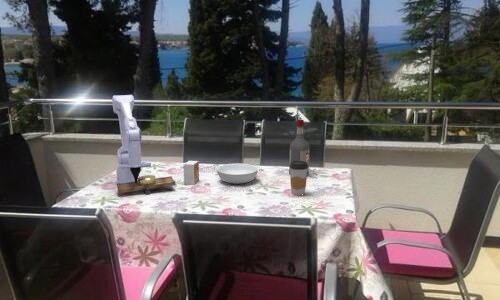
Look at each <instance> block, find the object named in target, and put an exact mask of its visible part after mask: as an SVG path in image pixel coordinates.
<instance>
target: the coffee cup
mask: <svg viewBox="0 0 500 300" xmlns="http://www.w3.org/2000/svg"><path fill="white" fill-rule="evenodd" d="M307 168H308V165H307V162H305V161H292V162H291V164H290V174H289V177H290V192H291V195H292V194H294V195H293V196H295V195H302V194H304V195H305V194H306V188H307V179H308V177H307V176H308V175H307ZM302 196H303V195H302Z"/></svg>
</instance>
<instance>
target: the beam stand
mask: <svg viewBox="0 0 500 300" xmlns="http://www.w3.org/2000/svg"><path fill="white" fill-rule="evenodd" d="M143 191H144V194H145V195H146V196H149V195H151V189H149V185H146V189H145V190H143Z"/></svg>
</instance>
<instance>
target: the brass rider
mask: <svg viewBox="0 0 500 300" xmlns="http://www.w3.org/2000/svg"><path fill="white" fill-rule="evenodd" d="M156 178H157V177H156V175H153V174H149V175H148V174H147V175H146V174H145V175H142V176H138V182H139V185H140V186H146V185H154V184H156Z"/></svg>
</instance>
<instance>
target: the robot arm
mask: <svg viewBox="0 0 500 300" xmlns="http://www.w3.org/2000/svg"><path fill="white" fill-rule="evenodd" d="M111 101H112V108H113V109H112V110H113V113H114V114H117V116H118V117H117V118H118V123H119V132H120V140H121V141H120V142H121V147H119V148H118V149H117V152H116V160H117V161H116V162H117V164H118V165H117V166H116V170H115V171H116V181H115V183H117V184H121V183H128V182H135V184H137V181H138V178H139V177H140V173H141V171H142V168H152V162H151V161H150V162H143V161H142V149H141V147H142V146H141V141H142V130H141V129H140V127H139V126H138V123H137V120H136V118H135V117H133V110H134V106H135V98H134V95H133V94H125V95H113V96H112V97H111Z"/></svg>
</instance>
